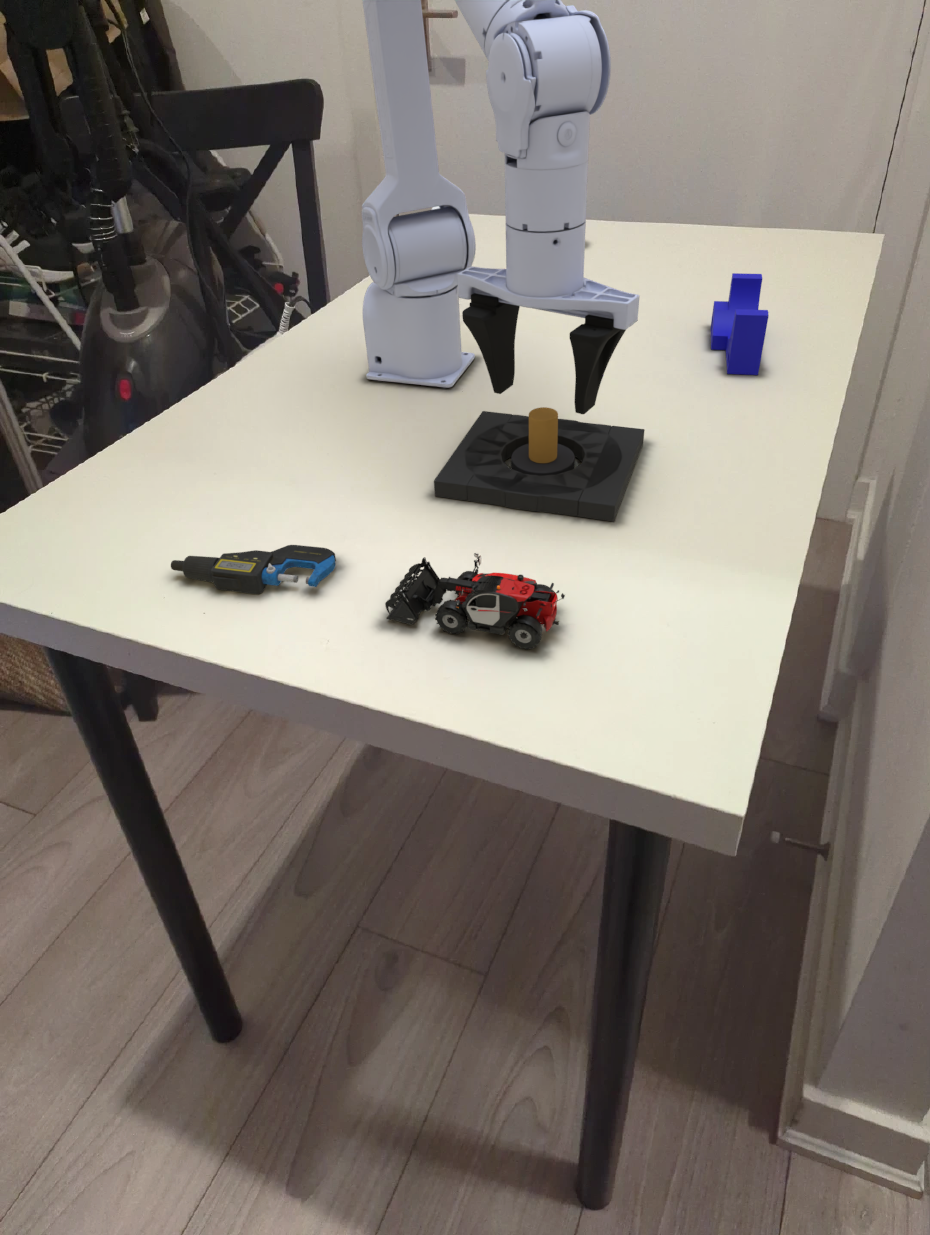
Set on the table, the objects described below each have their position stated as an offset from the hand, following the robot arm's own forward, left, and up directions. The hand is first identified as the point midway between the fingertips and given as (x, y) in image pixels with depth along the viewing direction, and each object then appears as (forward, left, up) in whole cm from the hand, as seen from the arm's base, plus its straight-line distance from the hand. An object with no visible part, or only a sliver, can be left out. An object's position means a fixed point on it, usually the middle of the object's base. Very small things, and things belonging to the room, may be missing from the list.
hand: (543, 398), depth 71 cm
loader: (+1, -21, -7) cm, 22 cm away
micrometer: (-17, -20, -7) cm, 27 cm away
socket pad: (0, 0, -6) cm, 6 cm away
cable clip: (+13, +29, -7) cm, 33 cm away
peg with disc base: (0, 0, -6) cm, 6 cm away
